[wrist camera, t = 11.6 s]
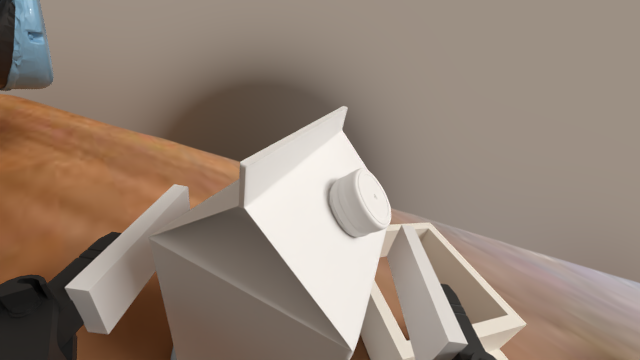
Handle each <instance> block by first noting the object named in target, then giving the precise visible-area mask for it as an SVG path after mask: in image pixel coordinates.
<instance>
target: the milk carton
mask: <svg viewBox="0 0 640 360" xmlns="http://www.w3.org/2000/svg"><path fill="white" fill-rule="evenodd" d="M346 111H347V107H345V106H342V107H341V108H339V109H337V110H335V111H333V112H331V113H330V114H328V115H326V116H324V117H322V118H320V119H319V120H317V121H315V122H313V123H311V124H309V125H307V126H306V127H304V128H302V129H300V130H298V131H297V132H295V133H293V134H291V135H289V136H287V137H285V138H284V139H282V140H280V141H278V142H276V143H274V144H273V145H271V146H269V147H267V148H265V149H263V150H262V151H260V152H258V153H256V154H254V155H252V156H250V157H249V158H247V159H245V160H243V161H241V162H240V177H239V179H238V180H237V181H235V182H234V183H232V184H231V185H229V186H227V187H226V188H224V189H223V190H221V191H219V192H218V193H216V194H215V195H213V196H211V197H210V198H208V199H207V200H205V201H204V202H202V203H200V204H199V205H197V206H196V207H194V208H192V209H191V210H189V211H188V212H186V213H184V214H183V215H181V216H180V217H178V218H177V219H175V220H173V221H172V222H170V223H169V224H167V225H165V226H164V227H162V228H161V229H159V230H158V231H156V232H155V233H153V234H151V235H150V236H149V237H148V238H149V241H150V245H151V250H152V254H153V258H154V263H155V267H156V271H157V276H158V280H159V284H160V289H161V293H162V297H163V301H164V306H165V310H166V314H167V319H168V323H169V327H170V332H171V336H172V340H173V345H174V349H175V353H176V358H177V360H350V358H351V356H352V354H353V352H354V350H355V347H356V345H357V341H358V338H359V335H360V331H361V328H362V324H363V320H364V317H365V313H366V309H367V305H368V301H369V297H370V293H371V289H372V285H373V281H374V277H375V273H376V269H377V265H378V261H379V258H380V254H381V250H382V246H383V242H384V238H385V234H386V230H387V227H388V225H389V224H390V221H391V207H390V204H389V201H388V198H387V196H386V194H385V192H384V190H383V188H382V186H381V185H380V183H379V182H378V181H377V179H376V178H375V177H374V176H373V174H371V172H369V171H368V170H367V168H366V167H365V165H364V163H363V162H362V160H361V159H360V157H359V156H358V154H357V152H356V151H355V149H354V148H353V146H352V145H351V143H350V142H349V140H348V138H347V137H346V135H345V134H344V132H343V131H342V127H343V123H344V119H345V115H346Z"/></svg>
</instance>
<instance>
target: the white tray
mask: <svg viewBox="0 0 640 360" xmlns="http://www.w3.org/2000/svg"><path fill="white" fill-rule="evenodd" d="M401 225H407V226H413V227H414V229H415V231H416V233H417V235H418V237H419V239H420V242H421V244H422V246H423V248H424V250H425V252H426V254H427V257H428V259H429V261H430V263H431V265H432V267H433V270H434V272H435V274H436V276H437V278H438V280H439V283H441V284H447V285H449V286H450V288H451V289H452V290H453V291H454V292H455V293H456V295H457V297H458V299H459V301H460V303H461V306H462V307H463V308H464V310H465V312H466V316H468V318H469V320H470V322H471V324H472V326H473V328H474V330H475V332H476V334H477V336H478V338H479V340H480V342H481V344H482V346H483V348H484V349H485V351H486V352H487V353H489V354H491V355H492V356H494V357H495V358H496V359H497V360H508V359H507V358H506V356H505V355H504V354H503V353H502V351H501V350H500V349H499V348H501V347H502V346H503V345H504V344H505V343H506V342H507V341H508V340H510V339H511V338H512V337H513V336H514V335H515V334H516V333H518V332H519V331H520V330H521V329H522V328H523V327H524V326H525V325H527V324H526V323H525V322H524V321H523V320H522V319H521V318H520V317H519V316H518V314H517V313H516V312H515V311H514V310H513V309H512V308H511V307H510V306H509V305H508V304H507V303H506V302H505V301H504V300H503V299H502V298H501V297H500V296H499V295H498V293H497V292H496V291H495V290H494V289H493V288H492V287H491V286H490V285H489V284H488V283H487V282H486V281H485V280H484V279H483V278H482V277H481V276H480V275H479V274H478V273H477V271H476V270H475V269H474V268H473V267H472V266H471V265H470V264H469V263H468V262H467V261H466V260H465V259H464V258H463V257H462V256H461V255H460V254H459V253H458V252H457V250H456V249H455V248H454V247H453V246H452V245H451V244H450V243H449V242H448V241H447V240H446V239H445V238H444V237H443V236H442V235H441V234H440V233H439V232H438V231H437V229H436V228H435V227H434V226H433V225H432V224H431V223H413V224H394V225H388V227H387V230H386V234H385V238H384V242H383V246H382V250H381V254H380V257H386V256H387V254H388V252H389V250H390V248H391V246H392V244H393V242H394V239H395V237H396V235H397V233H398V231H399V229H400V227H401ZM360 335H361V337H362V340H363V342H364V345H365V347H366V350H367V352H368V355H369V357H370V360H415V356H414V352H413V349H412V345H411V342H410V340H408V341H406V339H405V337H404V335H403V333H402V331H401V330H400V328H399V326H398V324H397V322H396V320H395V318H394V316H393V314H392V313H391V311H390V309H389V307H388V305H387V303H386V301H385V299H384V297H383V296H382V294H381V292H380V290H379V288H378V286H377V284H376V282H375V281H373V285H372V289H371V293H370V297H369V301H368V305H367V309H366V313H365V317H364V320H363V324H362V328H361V331H360Z"/></svg>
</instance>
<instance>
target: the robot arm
mask: <svg viewBox="0 0 640 360" xmlns="http://www.w3.org/2000/svg"><path fill="white" fill-rule="evenodd" d="M52 82H53V68H52V63H51V56H50V51H49V46H48V40H47V35H46V30H45V24H44V19H43V15H42V10H41V5H40V0H0V90H3V91H8V90H11V89H42V88H46V87H48V86H49V85H50V84H51V83H52ZM189 210H190V204H189V193H188V187H187V186H181V185H175V184H174V185H173V186H172V187H171V188H170V189H169V190H168V191H167V192H166V193H164V194H163V195H162V196H161V197H160V198H159V199H158V200H157V201H156V202H155V203H154V204H153V205H152V206H151V207H150V208H149V209H147V210H146V211H145V212H144V213H143V214H142V215H141V216H140V217H139V218H138V219H137V220H136V221H135V222H134V223H133V224H132V225H130V226H129V227H128V228H127V229H126V230H125V231H124V232H123V233H117V232H111V233H109V234H107V235H105V236H104V237H102V238H100V239H98V240H97V241H96V242H95V243H94V244H92V245H91V246H90V247H89V248H88V250H86V251H84V252H83V253H82V254H81V255H80V256H79V258H76V259H75V260H74V261H73V262H72V263H71V264H69V265H68V266H67V267H66V268H65V269H64V270H63V271H61V272H60V273H59V274H58V275H57V276H56V277H54V278H53V279H52V280H51V281H50V282H49V283H48V284H47V282H46V280H45V279H44V278H43V277H41V276H39V275H26V276H20V277H17V278H14V279H11V280H8V281H6V282H4V283H2V284H0V360H77V336H76V332H77V331H78V330H79V328H80V327H81V326H82V325H83V324H84V325H85V327H86V329H87V331H88V332H93V333H101V334H109V333H110V332H111V330H112V329H113V328H114V326H115V325H116V324H117V322H118V321H119V320H120V318H121V317H122V316H123V314H124V313H125V312H126V310H127V309H128V308H129V306H130V305H131V303H132V302H133V301H134V299H135V298H136V297H137V295H138V294H139V293H140V291H141V290H142V289H143V287H144V286H145V285H146V283H147V282H148V281H149V279H150V278H151V277H152V275H153V274H154V273H155V271H156V267H155V263H154V258H153V254H152V250H151V245H150V241H149V238H148V237H149V236H150V235H151V234H153V233H155V232H156V231H158V230H159V229H161V228H162V227H164V226H165V225H167V224H169V223H170V222H172V221H173V220H175V219H177V218H178V217H180V216H181V215H183V214H184V213H186V212H188V211H189ZM387 258H388V262H389V266H390V269H391V273H392V276H393V280H394V284H395V287H396V291H397V295H398V298H399V302H400V305H401V309H402V313H403V316H404V320H405V323H406V327H407V331H408V334H409V338H410V342H411V345H412V349H413V352H414V356H415V360H497V359H496V358H495V357H494V356H492V355H491V354H489V353H487V352H486V351H485V349H484V348H483V346H482V344H481V342H480V340H479V338H478V336H477V334H476V332H475V330H474V328H473V326H472V324H471V322H470V320H469V318H468V316H466V312H465V310H464V308H463V307H462V306H461V303H460V301H459V299H458V297H457V295H456V293H455V292H454V291H453V290H452V289H451V288H450V286H449V285H447V284H441V283H439V280H438V278H437V276H436V274H435V272H434V270H433V267H432V265H431V263H430V261H429V259H428V257H427V254H426V252H425V250H424V248H423V246H422V244H421V242H420V239H419V237H418V235H417V233H416V231H415V229H414V227H413V226H407V225H401V227H400V229H399V231H398V233H397V235H396V237H395V239H394V242H393V244H392V246H391V248H390V250H389V252H388V254H387Z"/></svg>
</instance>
